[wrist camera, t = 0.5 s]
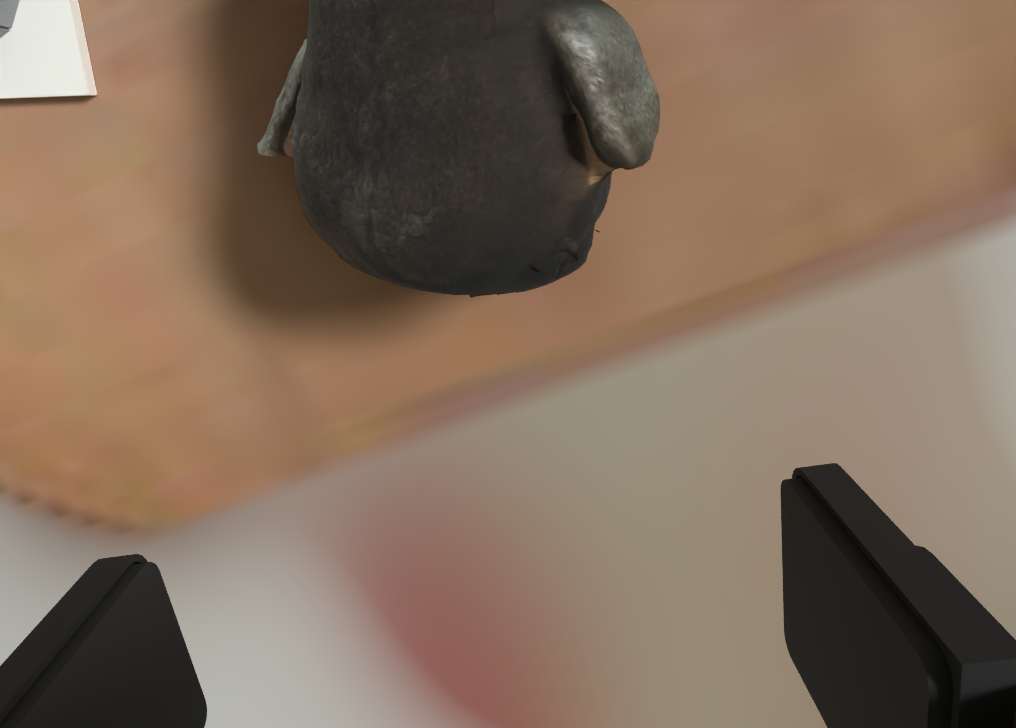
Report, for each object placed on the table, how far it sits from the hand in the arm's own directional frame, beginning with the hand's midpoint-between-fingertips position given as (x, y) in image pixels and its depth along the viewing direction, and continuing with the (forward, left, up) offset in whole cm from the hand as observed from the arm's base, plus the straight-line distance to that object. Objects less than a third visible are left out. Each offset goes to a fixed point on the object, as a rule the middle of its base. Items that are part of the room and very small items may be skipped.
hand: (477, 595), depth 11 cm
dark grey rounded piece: (-9, -1, -31) cm, 32 cm away
